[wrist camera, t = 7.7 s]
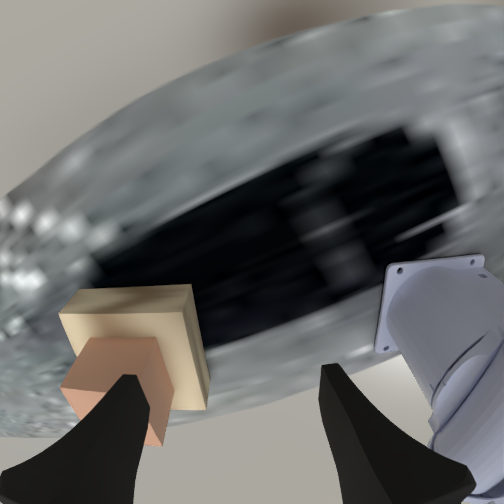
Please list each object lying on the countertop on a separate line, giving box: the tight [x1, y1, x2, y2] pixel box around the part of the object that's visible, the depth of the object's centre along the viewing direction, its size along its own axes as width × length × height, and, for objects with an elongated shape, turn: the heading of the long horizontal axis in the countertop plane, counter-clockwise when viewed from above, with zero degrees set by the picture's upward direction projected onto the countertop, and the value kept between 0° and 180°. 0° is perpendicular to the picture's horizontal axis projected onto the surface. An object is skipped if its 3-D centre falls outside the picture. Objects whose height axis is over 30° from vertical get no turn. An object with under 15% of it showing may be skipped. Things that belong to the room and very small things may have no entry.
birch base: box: [59, 284, 210, 410], centre depth 21 cm, size 9×9×4 cm
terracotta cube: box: [60, 337, 174, 446], centre depth 17 cm, size 5×5×5 cm
